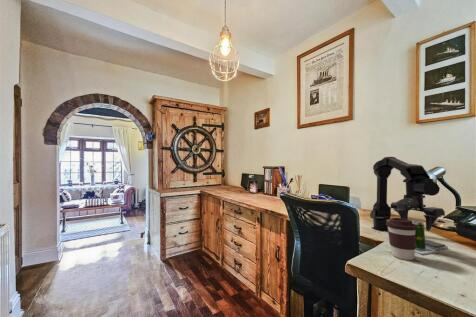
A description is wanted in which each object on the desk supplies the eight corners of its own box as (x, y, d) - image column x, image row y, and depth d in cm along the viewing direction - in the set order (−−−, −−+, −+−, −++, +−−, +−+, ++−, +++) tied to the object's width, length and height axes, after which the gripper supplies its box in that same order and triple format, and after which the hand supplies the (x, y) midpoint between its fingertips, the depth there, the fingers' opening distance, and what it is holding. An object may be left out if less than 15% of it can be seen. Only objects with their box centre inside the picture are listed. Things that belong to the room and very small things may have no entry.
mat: (397, 246, 94) (397, 245, 94) (413, 244, 96) (413, 243, 96) (421, 255, 84) (421, 253, 84) (439, 252, 86) (439, 251, 86)
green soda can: (417, 245, 93) (415, 219, 94) (429, 250, 88) (427, 222, 88) (406, 246, 93) (405, 219, 93) (418, 250, 87) (416, 222, 88)
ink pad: (411, 242, 98) (411, 239, 98) (422, 241, 100) (422, 237, 100) (435, 250, 89) (435, 246, 89) (447, 248, 90) (447, 245, 91)
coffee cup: (406, 263, 77) (404, 223, 77) (381, 253, 86) (380, 217, 87) (425, 260, 79) (423, 221, 80) (399, 250, 89) (397, 216, 90)
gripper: (380, 191, 98) (382, 223, 98) (424, 196, 80) (426, 236, 80) (398, 190, 101) (400, 222, 100) (444, 195, 83) (447, 233, 82)
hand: (416, 227), depth 91 cm, fingers open, 9 cm apart
